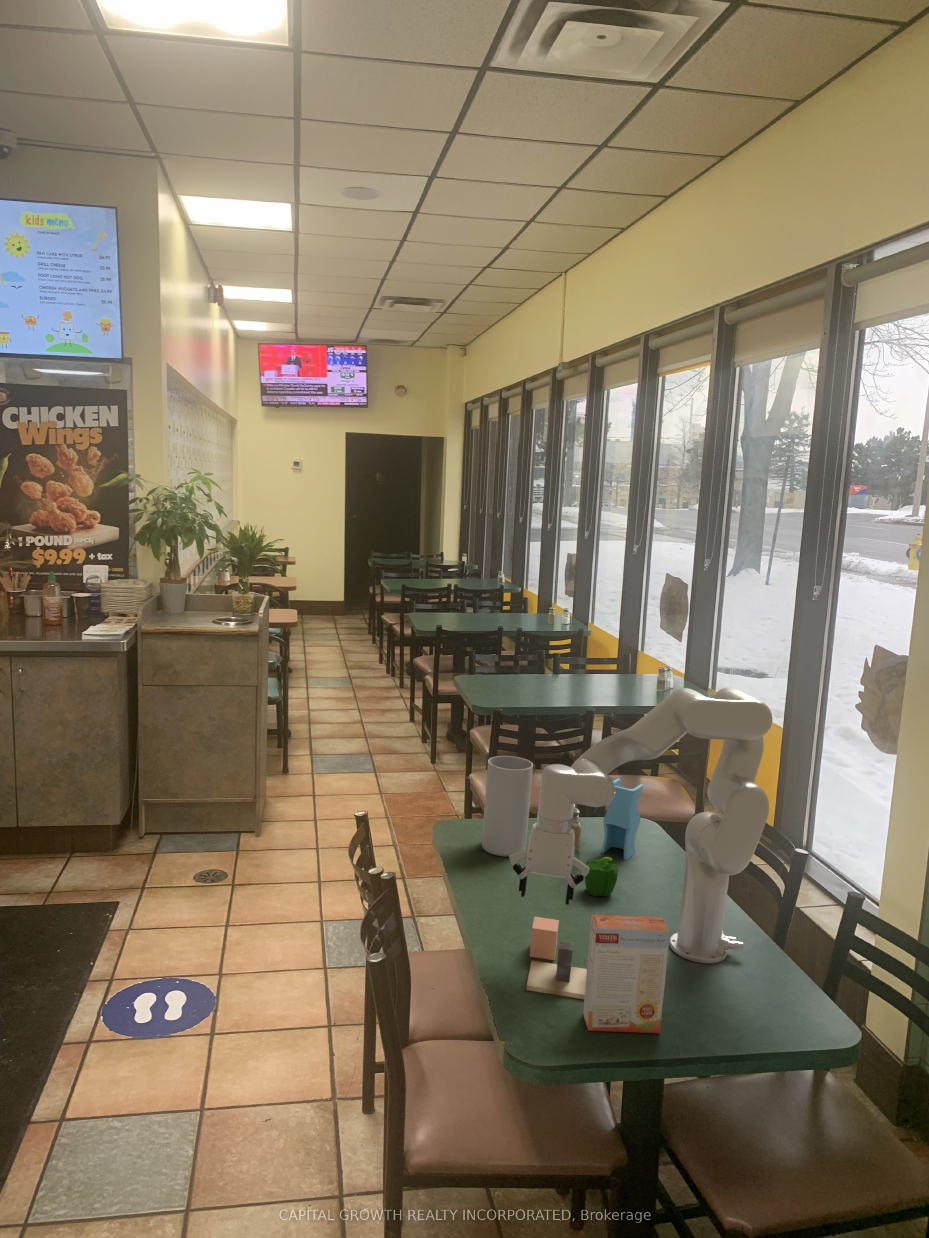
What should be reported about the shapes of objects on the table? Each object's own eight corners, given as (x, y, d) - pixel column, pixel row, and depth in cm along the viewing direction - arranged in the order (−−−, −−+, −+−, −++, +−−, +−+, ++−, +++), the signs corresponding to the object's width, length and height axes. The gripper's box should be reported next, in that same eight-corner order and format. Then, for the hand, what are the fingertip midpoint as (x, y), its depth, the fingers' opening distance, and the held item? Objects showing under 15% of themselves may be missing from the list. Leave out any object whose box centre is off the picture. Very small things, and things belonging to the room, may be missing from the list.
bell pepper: (574, 890, 227) (578, 853, 226) (595, 883, 233) (599, 846, 231) (600, 903, 221) (604, 865, 220) (621, 895, 227) (625, 858, 225)
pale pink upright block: (556, 948, 198) (558, 920, 197) (554, 960, 192) (557, 931, 191) (532, 944, 199) (534, 916, 198) (529, 956, 193) (532, 927, 192)
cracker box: (652, 1016, 174) (663, 915, 171) (660, 1035, 168) (672, 931, 165) (581, 1012, 174) (591, 911, 171) (586, 1031, 168) (597, 927, 165)
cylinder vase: (505, 836, 260) (511, 753, 256) (534, 851, 250) (542, 765, 246) (472, 845, 252) (478, 759, 248) (501, 861, 242) (509, 772, 238)
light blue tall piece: (636, 851, 256) (643, 784, 253) (626, 860, 249) (633, 791, 246) (611, 844, 260) (617, 778, 257) (600, 852, 253) (607, 784, 250)
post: (597, 975, 188) (601, 939, 186) (596, 1001, 178) (599, 963, 177) (531, 964, 190) (534, 929, 189) (526, 989, 180) (529, 952, 179)
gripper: (595, 823, 193) (585, 897, 196) (516, 810, 196) (507, 884, 199) (594, 835, 186) (584, 912, 189) (512, 822, 189) (503, 898, 191)
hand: (545, 898), depth 194 cm, fingers open, 9 cm apart
